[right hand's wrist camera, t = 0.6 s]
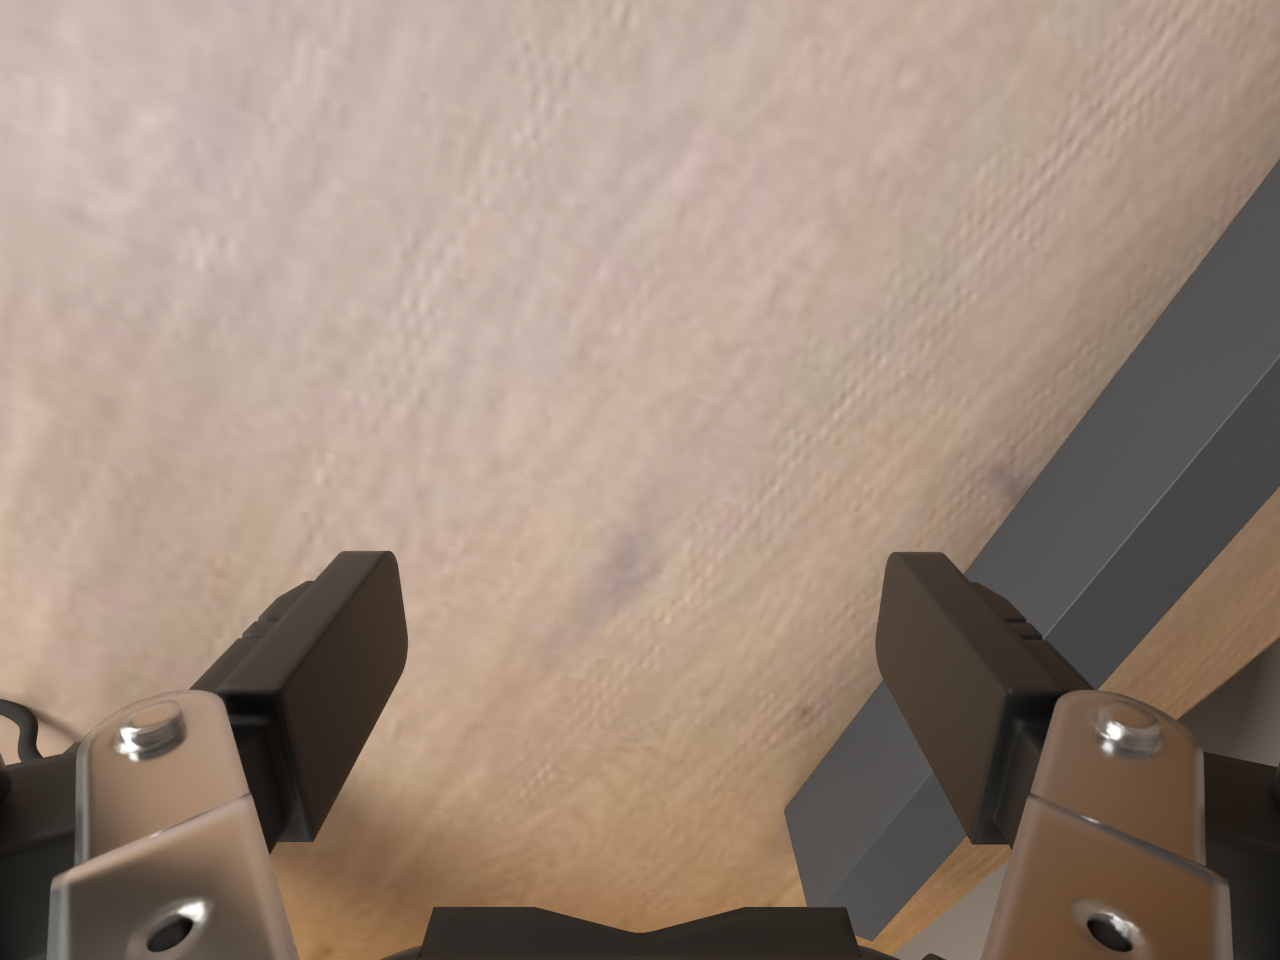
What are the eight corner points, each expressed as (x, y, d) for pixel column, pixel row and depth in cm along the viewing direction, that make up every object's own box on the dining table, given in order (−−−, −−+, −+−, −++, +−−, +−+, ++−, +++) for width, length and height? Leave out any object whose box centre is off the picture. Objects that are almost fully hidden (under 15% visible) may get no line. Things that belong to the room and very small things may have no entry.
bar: (1692, -384, 27) (2096, -621, 19) (1763, -315, 27) (2180, -518, 20) (783, 810, 48) (809, 918, 40) (836, 833, 48) (872, 942, 41)
